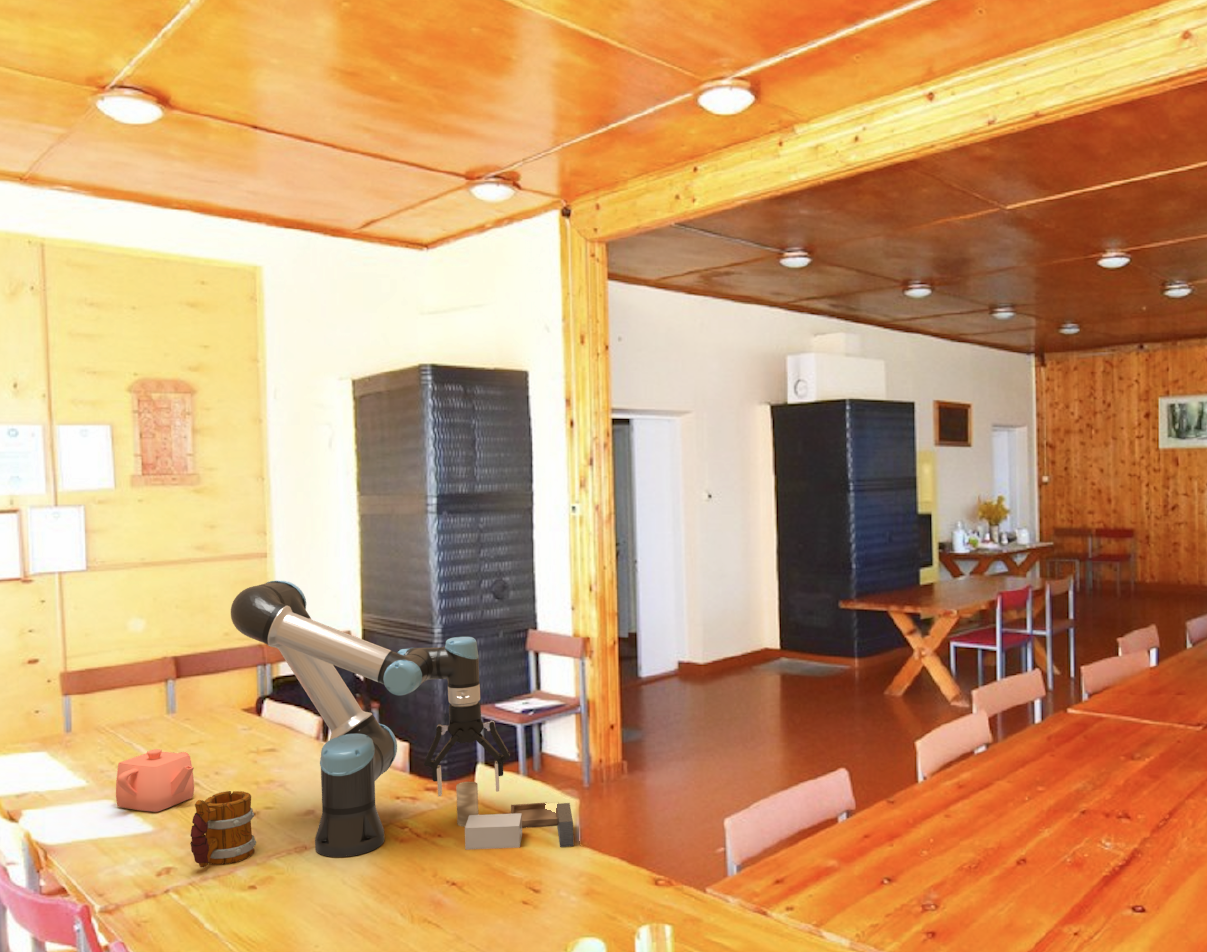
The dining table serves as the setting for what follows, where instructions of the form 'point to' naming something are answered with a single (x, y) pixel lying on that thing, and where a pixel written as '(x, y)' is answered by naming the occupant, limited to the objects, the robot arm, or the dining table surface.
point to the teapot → (154, 781)
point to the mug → (222, 829)
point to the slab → (493, 831)
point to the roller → (466, 801)
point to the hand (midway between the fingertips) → (469, 792)
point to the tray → (535, 815)
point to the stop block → (565, 825)
